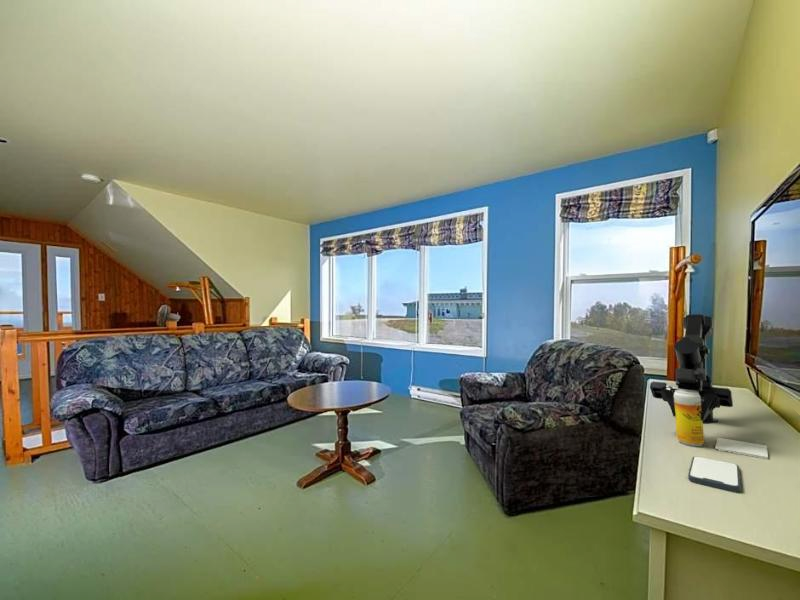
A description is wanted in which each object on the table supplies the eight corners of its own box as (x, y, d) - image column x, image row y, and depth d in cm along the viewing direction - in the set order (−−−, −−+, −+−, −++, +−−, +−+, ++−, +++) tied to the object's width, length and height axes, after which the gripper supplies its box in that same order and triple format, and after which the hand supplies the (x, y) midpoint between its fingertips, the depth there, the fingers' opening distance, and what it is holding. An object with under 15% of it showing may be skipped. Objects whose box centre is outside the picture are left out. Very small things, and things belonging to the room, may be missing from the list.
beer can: (698, 448, 97) (694, 394, 97) (673, 442, 102) (669, 390, 103) (708, 444, 99) (704, 391, 100) (683, 438, 105) (679, 388, 106)
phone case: (692, 461, 90) (687, 482, 79) (692, 455, 91) (686, 475, 79) (740, 470, 84) (741, 495, 73) (739, 464, 84) (741, 487, 73)
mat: (717, 439, 103) (717, 437, 103) (766, 447, 95) (766, 445, 95) (715, 449, 96) (715, 447, 96) (768, 459, 88) (767, 456, 88)
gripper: (649, 356, 111) (643, 397, 103) (728, 360, 98) (729, 407, 90) (656, 377, 116) (651, 417, 108) (732, 383, 103) (733, 430, 95)
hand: (687, 417), depth 100 cm, fingers closed on beer can, 6 cm apart
